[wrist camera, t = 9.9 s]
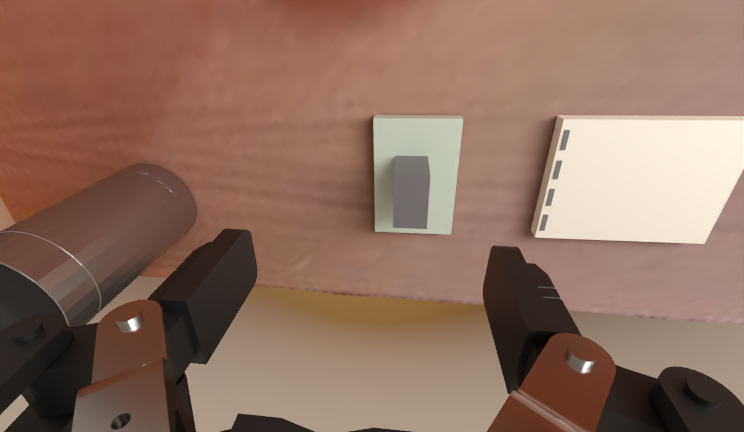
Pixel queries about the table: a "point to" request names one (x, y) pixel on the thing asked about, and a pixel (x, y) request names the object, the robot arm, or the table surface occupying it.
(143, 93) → the table surface
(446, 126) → the stub
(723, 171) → the cream panel
